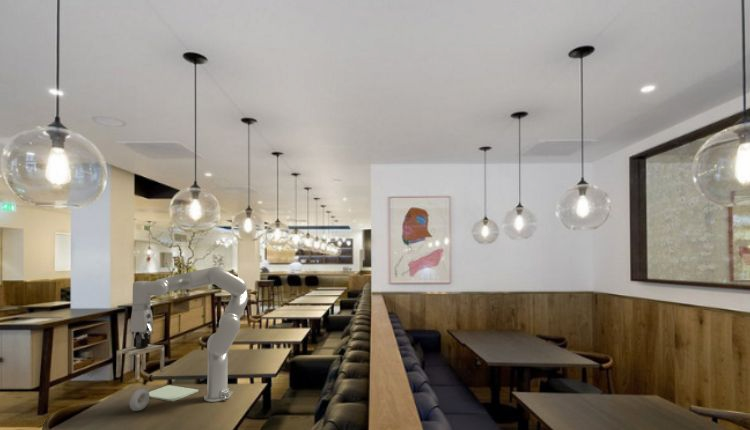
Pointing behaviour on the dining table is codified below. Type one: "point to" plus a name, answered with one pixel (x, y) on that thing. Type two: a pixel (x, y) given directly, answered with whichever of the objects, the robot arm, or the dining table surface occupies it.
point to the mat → (171, 393)
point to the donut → (144, 401)
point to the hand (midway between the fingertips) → (140, 346)
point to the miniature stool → (137, 352)
